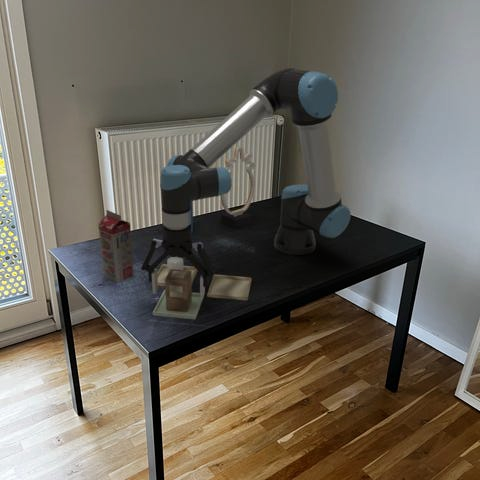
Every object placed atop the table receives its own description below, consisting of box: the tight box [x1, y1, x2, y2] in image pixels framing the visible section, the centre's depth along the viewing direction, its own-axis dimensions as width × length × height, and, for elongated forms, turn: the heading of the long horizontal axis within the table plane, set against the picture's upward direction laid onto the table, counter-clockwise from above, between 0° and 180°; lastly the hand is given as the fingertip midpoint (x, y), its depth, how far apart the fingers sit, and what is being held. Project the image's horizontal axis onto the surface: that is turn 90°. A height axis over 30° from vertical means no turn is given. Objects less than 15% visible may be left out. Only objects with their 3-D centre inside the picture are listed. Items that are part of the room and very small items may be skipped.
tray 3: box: [206, 274, 253, 301], centre depth 146 cm, size 12×12×2 cm
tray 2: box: [152, 289, 205, 320], centre depth 136 cm, size 12×12×2 cm
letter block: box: [164, 269, 193, 312], centre depth 134 cm, size 6×6×10 cm
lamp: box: [220, 146, 256, 230], centre depth 188 cm, size 17×9×32 cm, turn 132°
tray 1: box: [157, 263, 199, 287], centre depth 151 cm, size 12×12×2 cm
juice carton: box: [98, 209, 135, 284], centre depth 147 cm, size 7×7×22 cm
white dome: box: [166, 256, 184, 273], centre depth 150 cm, size 5×5×6 cm
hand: (178, 293), depth 135 cm, fingers open, 13 cm apart
